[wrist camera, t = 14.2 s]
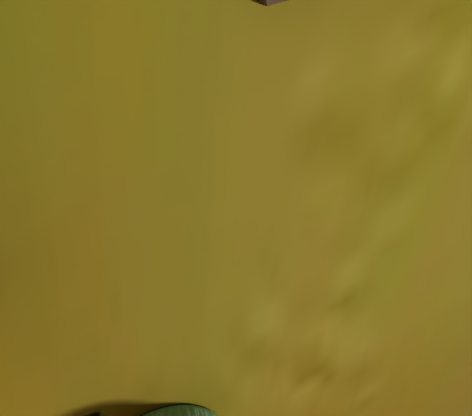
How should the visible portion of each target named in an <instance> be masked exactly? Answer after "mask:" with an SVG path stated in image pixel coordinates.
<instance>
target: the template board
mask: <svg viewBox="0 0 472 416" xmlns="http://www.w3.org/2000/svg"><path fill="white" fill-rule="evenodd" d="M283 1H287V0H259V4H262V5H265V6H269V5H272V4H276V3H280V2H283Z"/></svg>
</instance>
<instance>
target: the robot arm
mask: <svg viewBox="0 0 472 416" xmlns="http://www.w3.org/2000/svg"><path fill="white" fill-rule="evenodd" d="M85 416H105V414H104V413H103V412H102V411H99V410H98V411H95V412H92V413H90V414H87V415H85Z"/></svg>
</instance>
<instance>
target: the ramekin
mask: <svg viewBox="0 0 472 416" xmlns="http://www.w3.org/2000/svg"><path fill="white" fill-rule="evenodd" d="M143 416H217V415H216V414H215V413H213V412H212V411H210V410H208V409H206V408H203V407H200V406H195V405H175V406H168V407H164V408H160V409H157V410H154V411H152V412H149V413H147V414H145V415H143Z"/></svg>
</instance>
